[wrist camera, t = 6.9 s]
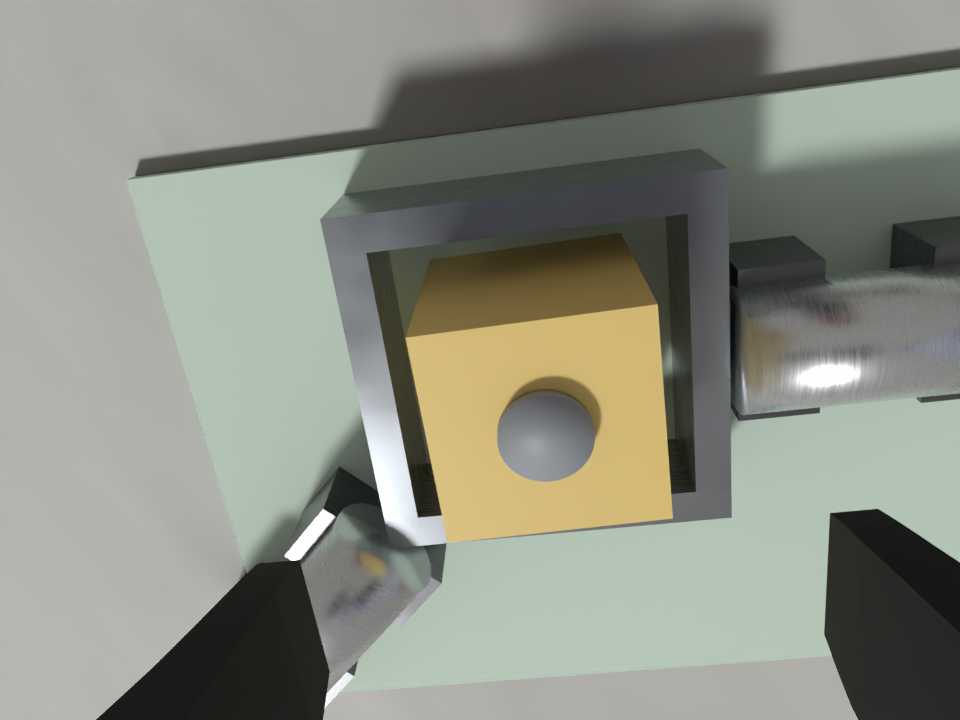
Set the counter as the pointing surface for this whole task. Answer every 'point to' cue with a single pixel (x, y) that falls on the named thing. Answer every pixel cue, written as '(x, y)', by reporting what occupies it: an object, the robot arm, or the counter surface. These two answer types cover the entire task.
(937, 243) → the shaft
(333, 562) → the shaft
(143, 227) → the mat
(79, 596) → the counter surface
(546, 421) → the yellow block
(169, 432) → the counter surface
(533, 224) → the frame
